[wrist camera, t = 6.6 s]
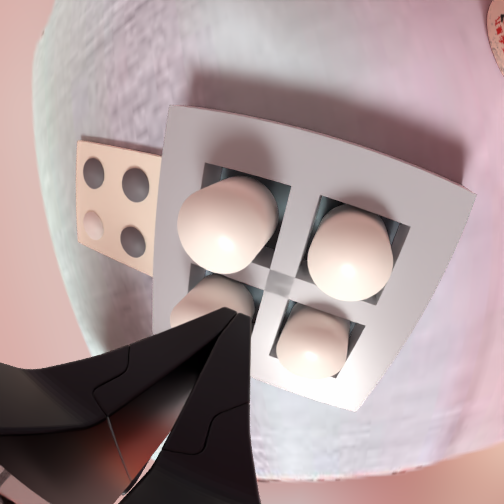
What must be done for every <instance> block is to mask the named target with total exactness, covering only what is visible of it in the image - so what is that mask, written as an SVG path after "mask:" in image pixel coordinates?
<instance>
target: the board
mask: <svg viewBox="0 0 504 504" xmlns="http://www.w3.org/2000/svg"><path fill="white" fill-rule="evenodd" d="M222 167H225V168H229V169H233V170H237V171H240V172H244V173H248V174H252V175H255V176H259V177H262V178H266V179H269V180H273V181H276V182H280V183H283V184H287V185H290V186H291V190H290V194H289V198H288V202H287V206H286V210H285V213H284V217H283V221H282V225H281V229H280V233H279V237H278V240H277V244H276V248H275V249H272V248H269V247H266V246H264V247H263V248H262V249H261V250H260V252H259V253H258V254H257V255H256V257H255V258H254V259H253V260H252V262H251V263H250V264H249V265H248V266H246V267H245V268H244V269H242V270H240V271H238V272H235V273H230V274H221V275H224V276H227V277H229V278H232V279H235V280H237V281H240V282H243V283H245V284H248V285H251V286H254V287H256V288H259V289H262V290H264V293H263V297H262V300H261V304H260V307H259V311H258V315H257V318H256V322H255V324H252V323H251V369H250V377H252V378H254V379H257V380H259V381H262V382H265V383H267V384H270V385H273V386H276V387H278V388H281V389H284V390H287V391H290V392H292V393H295V394H298V395H301V396H304V397H307V398H310V399H313V400H317V401H320V402H323V403H326V404H329V405H333V406H336V407H340V408H343V409H347V410H350V411H354V412H356V411H357V410H358V409H359V407H360V406H361V405H362V404H363V402H364V401H365V400H366V398H367V397H368V396H369V394H370V393H371V392H372V390H373V389H374V388H375V386H376V385H377V384H378V382H379V381H380V379H381V378H382V377H383V375H384V374H385V372H386V371H387V370H388V368H389V367H390V365H391V364H392V362H393V361H394V359H395V358H396V356H397V355H398V353H399V352H400V350H401V349H402V347H403V345H404V344H405V342H406V341H407V339H408V337H409V336H410V334H411V333H412V331H413V329H414V328H415V326H416V324H417V323H418V321H419V319H420V317H421V316H422V314H423V312H424V310H425V309H426V307H427V305H428V303H429V301H430V300H431V298H432V296H433V294H434V292H435V290H436V288H437V286H438V284H439V282H440V280H441V278H442V276H443V274H444V272H445V270H446V268H447V266H448V264H449V262H450V260H451V258H452V255H453V253H454V251H455V249H456V246H457V244H458V242H459V239H460V237H461V235H462V232H463V230H464V227H465V225H466V222H467V220H468V217H469V215H470V212H471V210H472V207H473V204H474V201H475V198H476V196H477V194H475V193H473V192H472V191H470V190H469V189H467V188H466V187H464V186H462V185H460V184H458V183H456V182H454V181H452V180H450V179H447V178H445V177H443V176H441V175H438V174H436V173H434V172H431V171H429V170H426V169H424V168H422V167H419V166H417V165H414V164H412V163H409V162H406V161H404V160H401V159H399V158H396V157H393V156H391V155H388V154H385V153H382V152H379V151H377V150H374V149H371V148H368V147H365V146H362V145H359V144H356V143H353V142H349V141H346V140H343V139H340V138H336V137H333V136H330V135H326V134H323V133H319V132H315V131H312V130H308V129H304V128H300V127H297V126H293V125H288V124H284V123H280V122H276V121H271V120H267V119H262V118H258V117H253V116H248V115H243V114H238V113H232V112H227V111H221V110H215V109H209V108H203V107H196V106H184V105H169V110H168V116H167V123H166V129H165V136H164V144H163V151H162V159H161V168H160V177H159V187H158V197H157V209H156V222H155V238H154V257H153V287H152V333H153V334H158V333H160V332H163V331H165V330H168V329H171V324H170V315H171V312H172V310H173V308H174V307H175V306H176V305H177V304H178V303H179V302H180V301H181V300H182V299H183V298H184V297H185V296H186V295H187V294H188V293H189V292H190V291H191V290H192V289H193V288H194V287H195V286H196V285H197V284H198V283H199V282H200V281H201V280H202V279H203V278H204V277H205V271H206V269H204V268H203V267H201V266H199V265H198V264H197V263H196V262H194V261H193V260H192V259H191V258H190V256H189V255H188V254H187V253H186V251H185V249H184V248H183V246H182V244H181V241H180V238H179V235H178V229H177V220H178V214H179V211H180V208H181V206H182V204H183V203H184V201H185V200H186V199H187V198H188V197H189V196H190V195H191V194H193V193H195V192H196V191H199V190H201V189H203V188H205V187H208V186H210V185H212V184H215V183H217V182H219V181H220V177H221V171H222ZM322 196H325V197H328V198H332V199H335V200H338V201H341V202H344V203H347V204H349V205H352V206H355V207H358V208H361V209H364V210H367V211H370V212H372V213H375V214H378V215H381V216H384V217H386V218H389V219H392V220H394V221H397V222H400V225H399V228H398V231H397V233H396V236H395V238H394V241H393V243H392V246H391V250H392V255H393V268H392V273H391V275H390V278H389V280H388V281H387V283H386V284H385V286H384V287H383V288H382V289H381V290H380V291H379V292H377V293H376V294H375V295H373V296H371V297H369V298H367V299H363V300H359V301H343V300H338V299H335V298H333V297H331V296H329V295H327V294H325V293H324V292H323V291H322V290H320V289H319V288H318V286H317V285H316V284H315V283H314V281H313V280H312V278H311V275H310V273H309V269H308V261H307V260H304V259H303V258H304V255H305V252H306V249H307V246H308V242H309V239H310V236H311V233H312V229H313V226H314V223H315V219H316V216H317V213H318V209H319V206H320V202H321V199H322ZM290 300H292V301H295V302H298V303H301V304H304V305H307V306H309V307H312V308H315V309H318V310H321V311H324V312H327V313H330V314H332V315H335V316H338V317H341V318H344V319H347V320H350V321H353V322H356V325H355V327H354V329H353V331H352V333H351V335H350V337H349V341H348V349H347V356H346V361H345V364H344V366H343V368H342V369H341V370H340V371H339V372H338V373H336V374H335V375H333V376H331V377H328V378H325V379H318V380H312V379H305V378H302V377H299V376H296V375H294V374H292V373H291V372H289V371H288V370H287V369H285V368H284V367H283V365H282V364H281V363H280V361H279V359H278V357H277V353H276V347H277V343H278V341H279V338H280V336H281V334H279V331H280V328H281V325H282V322H283V319H284V316H285V313H286V310H287V307H288V304H289V302H290Z"/></svg>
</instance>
